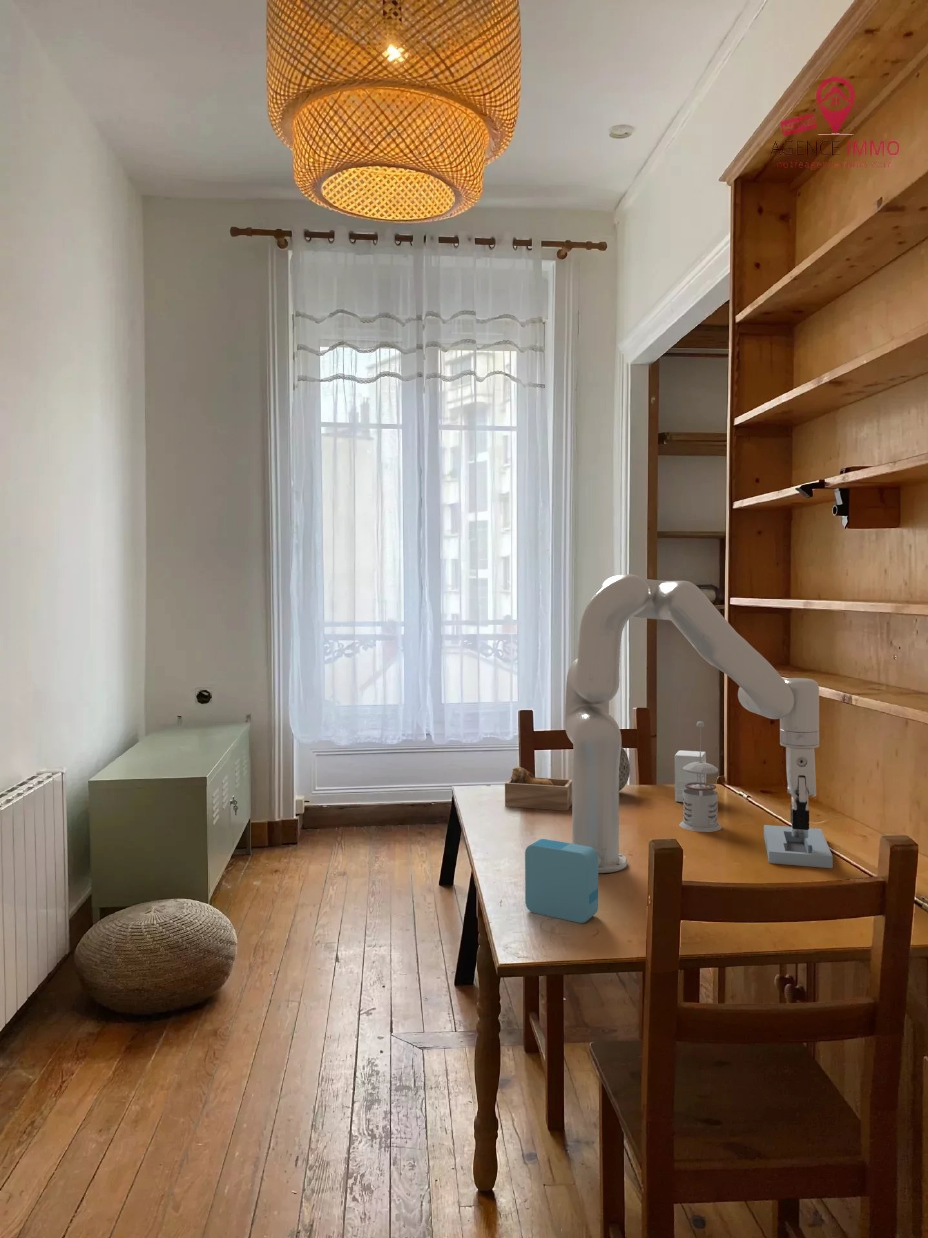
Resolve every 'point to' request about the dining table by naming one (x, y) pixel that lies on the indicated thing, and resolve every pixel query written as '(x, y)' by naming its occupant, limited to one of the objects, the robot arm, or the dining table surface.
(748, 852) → the dining table surface
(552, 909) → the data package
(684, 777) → the supplement box
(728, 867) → the dining table surface
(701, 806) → the french press
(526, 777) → the lion figurine
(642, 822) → the dining table surface
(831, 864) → the keyhole board
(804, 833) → the metal peg
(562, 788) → the open wooden box
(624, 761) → the decorative egg
